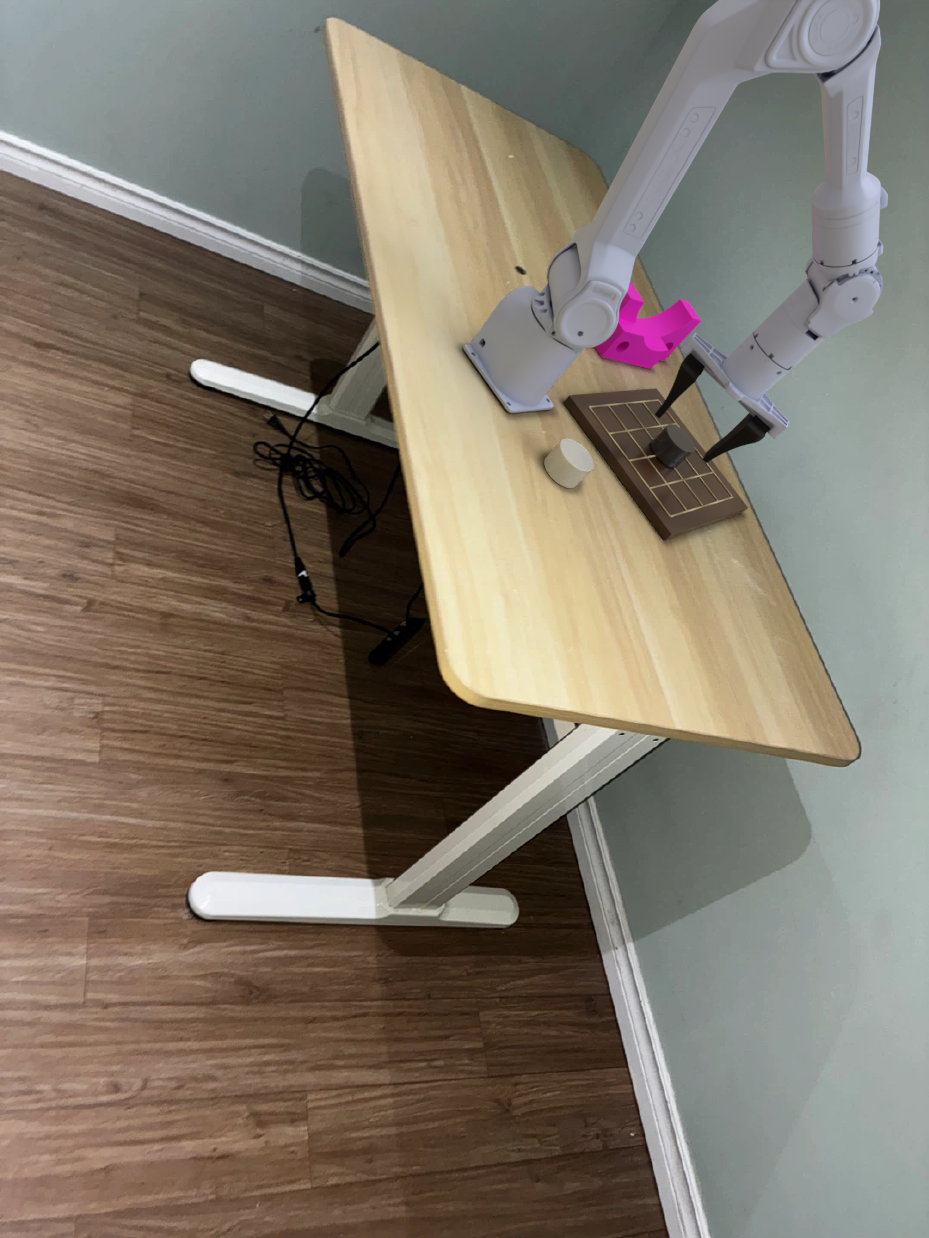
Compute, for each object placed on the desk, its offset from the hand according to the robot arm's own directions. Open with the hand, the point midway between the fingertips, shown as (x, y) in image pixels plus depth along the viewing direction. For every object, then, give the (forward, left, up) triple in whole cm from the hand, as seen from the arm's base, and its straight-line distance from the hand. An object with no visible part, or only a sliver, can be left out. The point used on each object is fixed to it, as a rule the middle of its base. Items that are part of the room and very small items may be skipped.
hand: (682, 436), depth 96 cm
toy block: (-18, +13, -5) cm, 23 cm away
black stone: (0, 0, -3) cm, 3 cm away
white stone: (-1, -19, -4) cm, 19 cm away
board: (0, 0, -4) cm, 4 cm away
